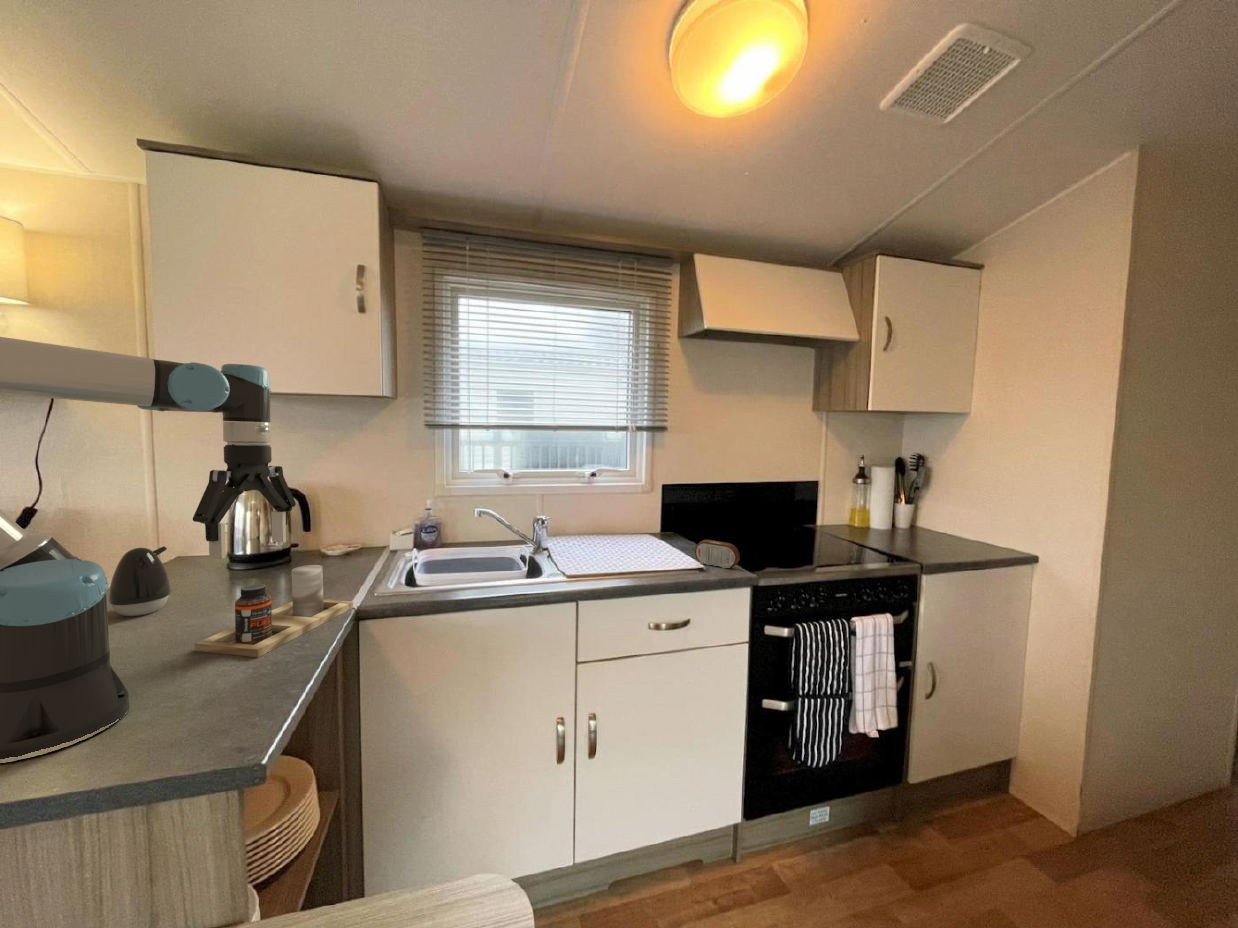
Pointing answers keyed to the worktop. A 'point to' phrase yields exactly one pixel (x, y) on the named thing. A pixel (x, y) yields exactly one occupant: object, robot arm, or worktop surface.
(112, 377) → the robot arm
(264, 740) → the worktop surface
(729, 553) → the tin
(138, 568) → the pump dispenser
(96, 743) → the worktop surface
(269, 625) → the supplement bottle
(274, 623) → the frame
